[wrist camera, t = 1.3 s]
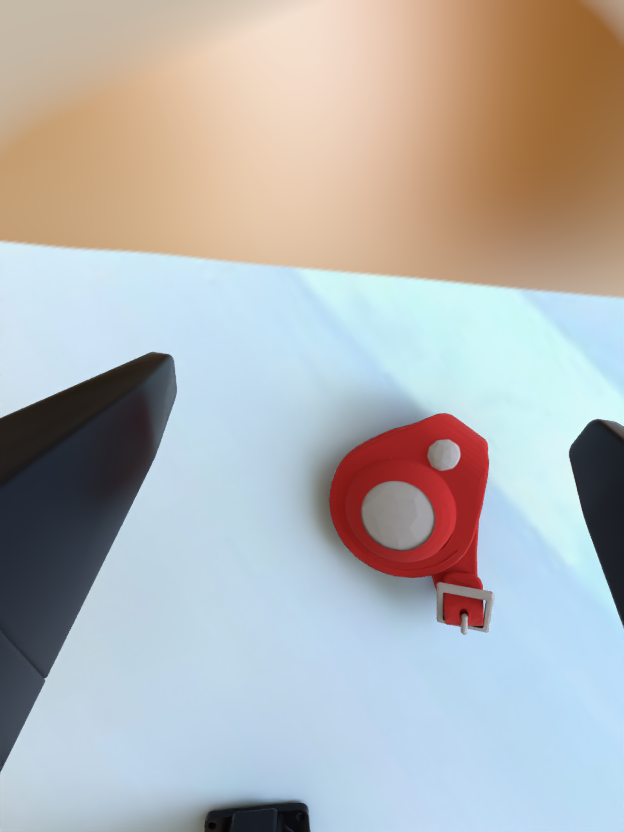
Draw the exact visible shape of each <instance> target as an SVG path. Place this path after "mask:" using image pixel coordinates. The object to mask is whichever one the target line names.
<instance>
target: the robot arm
mask: <svg viewBox="0 0 624 832" xmlns="http://www.w3.org/2000/svg"><path fill="white" fill-rule="evenodd" d="M176 392H177V385H176V375H175V366H174V360H173V357H172V356H171V355H169V354H163V353H156V352H151V353H148V354H146V355H143V356H141V357H139V358H137V359H134V360H132V361H130V362H127V363H125V364H123V365H121V366H118V367H116V368H114V369H112V370H109V371H107V372H105V373H102V374H100V375H98V376H96V377H93V378H91V379H89V380H86V381H84V382H82V383H80V384H77V385H75V386H73V387H70V388H68V389H66V390H64V391H61V392H59V393H57V394H54V395H52V396H50V397H48V398H45V399H43V400H41V401H38V402H36V403H34V404H32V405H29V406H27V407H25V408H22V409H20V410H18V411H16V412H13V413H11V414H9V415H7V416H4V417H2V418H0V772H1V770H2V768H3V766H4V764H5V762H6V760H7V758H8V756H9V754H10V752H11V750H12V748H13V746H14V744H15V742H16V740H17V738H18V736H19V734H20V731H21V729H22V727H23V725H24V723H25V721H26V719H27V717H28V715H29V713H30V711H31V709H32V707H33V705H34V703H35V701H36V699H37V697H38V695H39V693H40V691H41V689H42V687H43V685H44V683H45V679H44V678H46V677H47V676H48V674H49V672H50V670H51V668H52V666H53V664H54V662H55V660H56V658H57V656H58V654H59V652H60V650H61V648H62V646H63V643H64V641H65V639H66V637H67V635H68V633H69V631H70V629H71V627H72V625H73V623H74V621H75V619H76V617H77V615H78V613H79V611H80V609H81V607H82V605H83V603H84V601H85V599H86V597H87V595H88V593H89V591H90V589H91V587H92V585H93V583H94V581H95V578H96V576H97V574H98V572H99V570H100V568H101V566H102V564H103V562H104V560H105V558H106V556H107V554H108V552H109V550H110V548H111V546H112V544H113V542H114V540H115V538H116V536H117V534H118V532H119V530H120V528H121V526H122V524H123V522H124V520H125V518H126V516H127V513H128V511H129V509H130V507H131V505H132V503H133V501H134V499H135V497H136V495H137V493H138V491H139V489H140V487H141V485H142V483H143V481H144V479H145V477H146V475H147V473H148V471H149V469H150V467H151V465H152V462H153V460H154V458H155V456H156V453H157V450H158V448H159V445H160V442H161V439H162V436H163V433H164V430H165V427H166V424H167V421H168V418H169V416H170V413H171V410H172V407H173V404H174V401H175V398H176ZM569 458H570V462H571V466H572V470H573V474H574V479H575V483H576V487H577V491H578V495H579V499H580V503H581V508H582V511H583V515H584V518H585V522H586V525H587V528H588V530H589V533H590V536H591V539H592V541H593V544H594V547H595V550H596V553H597V555H598V558H599V561H600V564H601V566H602V569H603V572H604V575H605V578H606V580H607V583H608V586H609V589H610V591H611V594H612V597H613V600H614V602H615V605H616V608H617V611H618V614H619V616H620V619H621V622H622V625H623V627H624V426H622V425H620V424H619V423H617V422H614V421H608V420H601V419H595V420H592V421H591V422H589V423H588V425H587V426H586V427H585V428H584V430H583V431H582V432H581V434H580V435H579V436H578V437H577V439H576V440H575V441H574V443H573V444H572V445H571V447H570V451H569ZM299 813H302V814H299ZM204 827H205V832H310V822H309V811H308V807H307V806H306V804H303V803H294V804H284V805H274V806H264V807H253V808H243V809H233V810H222V811H213V812H210V813H209V814H208V815H207V816H206V820H205V826H204Z"/></svg>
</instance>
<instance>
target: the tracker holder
mask: <svg viewBox="0 0 624 832" xmlns="http://www.w3.org/2000/svg"><path fill="white" fill-rule="evenodd" d="M488 469H489V459H488V444H487V442H486V440H485V439H484V438H482V437H481V436H480V435H478V434H477V433H476V432H474V431H473V430H472V429H470V428H469V427H468V426H466V425H465V424H463V423H462V422H461V421H459V420H458V419H457V418H455V417H454V416H452V415H450V414H446V413H443V414H437V415H434V416H431V417H429V418H426V419H424V420H422V421H419V422H416V423H414V424H410V425H407V426H403V427H399V428H395V429H392V430H389V431H387V432H384V433H382V434H380V435H378V436H376V437H374V438H372V439H370V440H368V441H366V442H364V443H362V444H361V445H359V446H358V447H356V448H355V449H353V450H352V451H351V452H350V453H348V454H347V455H346V456H345V457H344V459H343V460H342V461H341V463H340V464H339V466H338V468H337V470H336V473H335V475H334V478H333V481H332V484H331V489H330V498H329V502H330V512H331V516H332V520H333V524H334V526H335V528H336V530H337V533H338V535H339V536H340V538H341V539H342V541H343V543H344V544H345V545H346V547H347V548H348V549H349V550H350V551H351V552H352V553H353V554H354V555H355V556H356V557H357V558H358V559H360V560H361V561H362V562H364V563H365V564H367V565H368V566H370V567H372V568H374V569H376V570H378V571H381V572H383V573H386V574H389V575H393V576H398V577H408V578H417V577H425V576H430V575H431V576H432V578H433V581H434V584H435V588H436V591H437V621H438V622H441V623H445V624H447V625H454V626H459V627H461V633H462V634H464V635H465V634H466V633H467V628H468V629H473V630H478V631H482V632H489V628H490V622H491V616H492V609H493V603H494V593H493V592H491V591H485V590H483V585H482V582H481V580H480V579H479V578H478V577H477V541H478V526H479V518H480V514H481V509H482V505H483V500H484V494H485V489H486V483H487V478H488ZM483 600H486V604H485V611H484V618H483Z"/></svg>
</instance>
